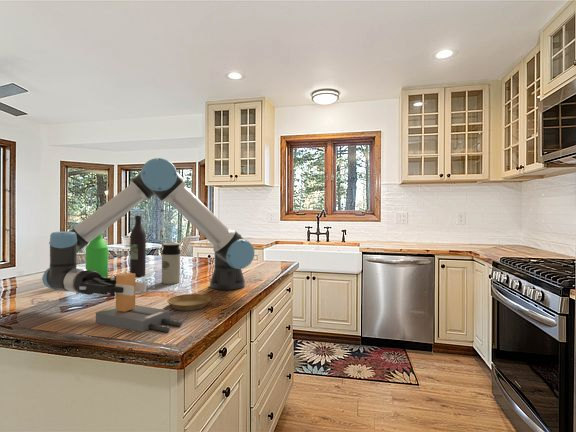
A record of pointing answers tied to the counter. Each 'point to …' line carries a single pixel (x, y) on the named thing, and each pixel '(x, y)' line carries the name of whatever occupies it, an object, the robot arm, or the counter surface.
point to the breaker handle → (122, 300)
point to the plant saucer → (189, 301)
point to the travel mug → (170, 263)
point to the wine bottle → (138, 249)
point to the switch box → (137, 318)
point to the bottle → (97, 256)
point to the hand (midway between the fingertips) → (139, 289)
